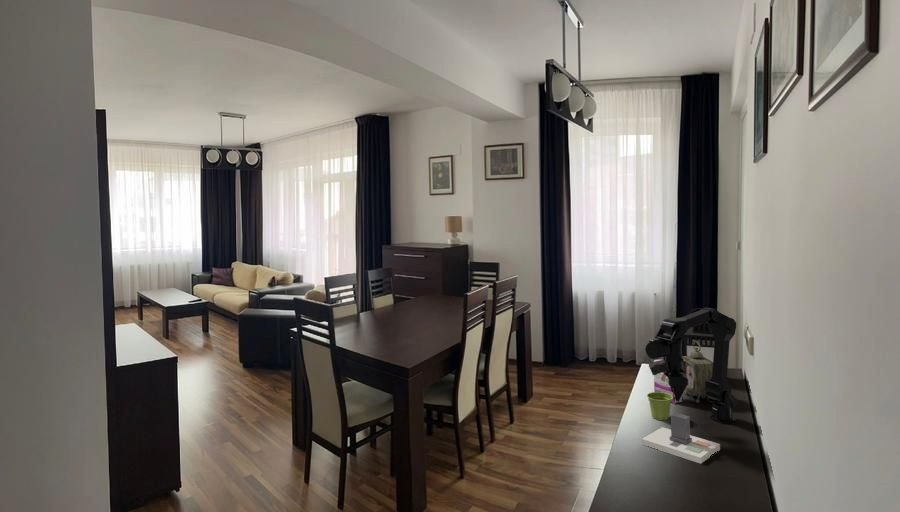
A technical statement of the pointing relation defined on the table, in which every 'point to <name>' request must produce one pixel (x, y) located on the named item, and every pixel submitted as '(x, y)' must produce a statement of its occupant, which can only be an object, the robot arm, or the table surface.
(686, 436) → the handle
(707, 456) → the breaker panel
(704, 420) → the table surface
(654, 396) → the plant pot
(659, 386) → the candy bar box
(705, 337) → the lantern
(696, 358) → the tabletop clock
